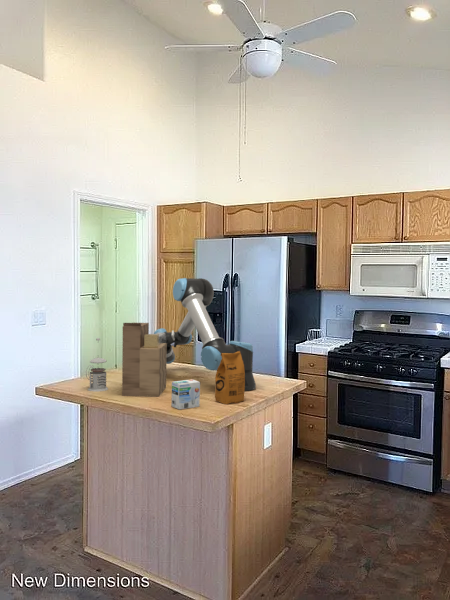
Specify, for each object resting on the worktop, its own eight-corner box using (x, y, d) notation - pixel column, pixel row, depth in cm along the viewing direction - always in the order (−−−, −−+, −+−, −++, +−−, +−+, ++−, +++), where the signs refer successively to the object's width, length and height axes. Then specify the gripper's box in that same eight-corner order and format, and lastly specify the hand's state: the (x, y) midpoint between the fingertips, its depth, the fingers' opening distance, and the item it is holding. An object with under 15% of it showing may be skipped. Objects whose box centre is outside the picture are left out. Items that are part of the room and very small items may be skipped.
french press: (112, 388, 253) (112, 337, 252) (94, 393, 243) (94, 340, 242) (98, 386, 258) (98, 336, 257) (80, 390, 249) (80, 338, 247)
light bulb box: (178, 410, 215) (179, 384, 215) (170, 406, 221) (171, 381, 220) (200, 406, 222) (200, 381, 221) (191, 403, 227) (192, 378, 227)
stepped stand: (132, 386, 258) (132, 319, 257) (166, 387, 258) (166, 320, 256) (122, 395, 239) (122, 323, 237) (158, 396, 238) (159, 324, 236)
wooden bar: (155, 340, 268) (155, 328, 268) (167, 340, 268) (167, 328, 267) (144, 347, 240) (144, 334, 240) (157, 348, 240) (157, 335, 239)
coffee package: (211, 400, 232) (212, 351, 231) (234, 397, 239) (234, 349, 238) (224, 405, 224) (225, 354, 223) (247, 401, 231) (248, 352, 230)
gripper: (187, 355, 278) (183, 340, 259) (141, 354, 279) (133, 338, 260) (188, 342, 281) (184, 326, 262) (142, 341, 282) (135, 325, 264)
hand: (159, 332), depth 261 cm, fingers open, 13 cm apart
